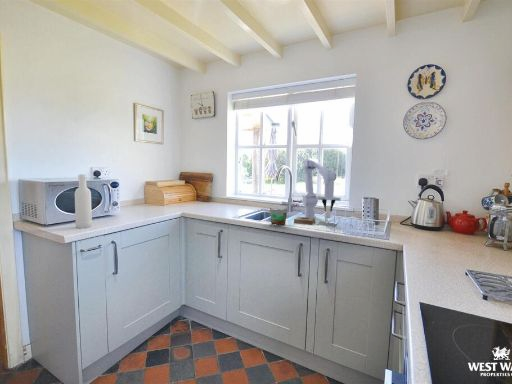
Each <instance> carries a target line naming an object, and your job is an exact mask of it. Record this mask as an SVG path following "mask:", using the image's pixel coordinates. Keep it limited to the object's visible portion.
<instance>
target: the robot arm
mask: <svg viewBox="0 0 512 384" xmlns="http://www.w3.org/2000/svg"><path fill="white" fill-rule="evenodd" d="M302 165H303V166H302V167H303V170H304V180H305V182H304V183H305V193H304V195H303V196H302V204H303V206H304V216H303V217H310V218H315V219H316V217H317V216H316V214H315V213H316V206H317V205H318V200H319V201H321V202H322V204H323V208H324V212H326V205H327V201H330V206H331V212H332V211H333V207H334V205H335V203H336V202H337V201H338V202H341V197H336V196H334V195H335V194H334V192H335V189H334V188H335V181H336V179H337V174H336V173H335V172H334V171H331V170H329V168H328V167H327V166H323V165H322V164H321V163H320V160H319V159H318V158H309V157H308V158H307V157H306V158H304V160H303V162H302ZM316 169H317V170H318V173H319V175H321V176H322V179H323V183H324V196H317V194H316V193H314V184H313V173H312V172H313V171H315V170H316Z"/></svg>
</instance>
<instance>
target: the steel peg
mask: <svg viewBox="0 0 512 384" xmlns="http://www.w3.org/2000/svg"><path fill="white" fill-rule="evenodd" d="M331 216H332V211H331V205H327V204H326V211H325V217H324V218H325V219H331V218H332V217H331Z"/></svg>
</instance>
